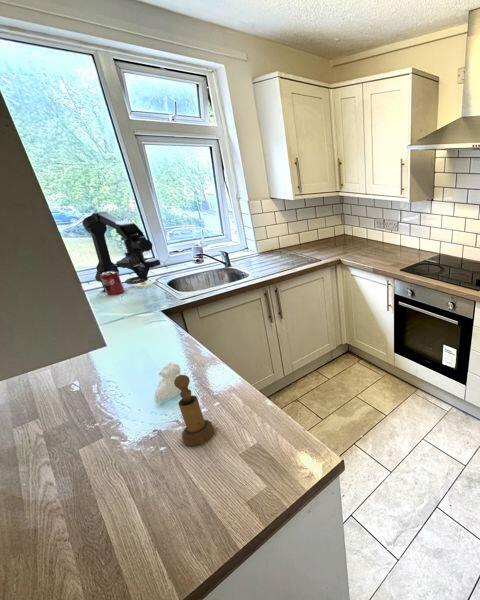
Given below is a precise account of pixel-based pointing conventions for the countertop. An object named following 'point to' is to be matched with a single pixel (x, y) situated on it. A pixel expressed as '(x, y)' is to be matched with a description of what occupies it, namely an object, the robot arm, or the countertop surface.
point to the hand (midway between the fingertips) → (143, 279)
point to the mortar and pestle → (192, 415)
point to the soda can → (112, 283)
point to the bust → (167, 383)
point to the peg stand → (144, 284)
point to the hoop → (131, 281)
